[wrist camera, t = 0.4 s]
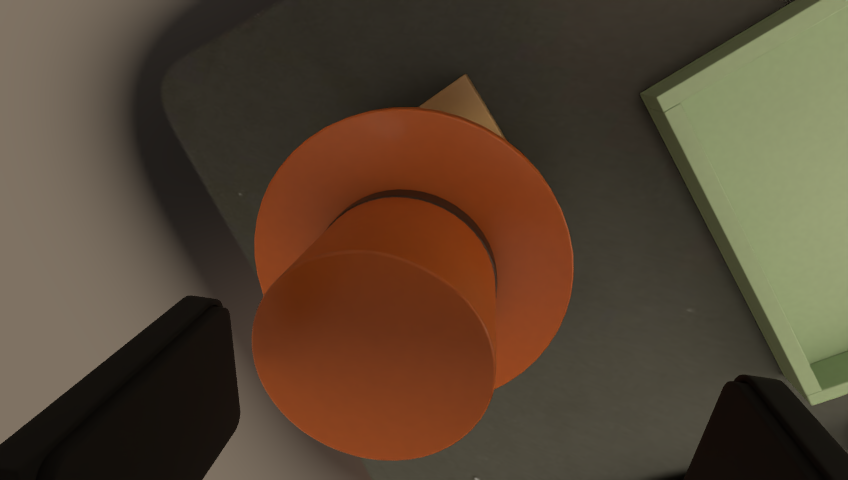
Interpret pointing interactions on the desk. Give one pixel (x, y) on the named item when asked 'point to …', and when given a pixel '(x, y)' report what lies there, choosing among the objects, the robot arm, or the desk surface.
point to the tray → (774, 178)
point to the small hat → (404, 279)
